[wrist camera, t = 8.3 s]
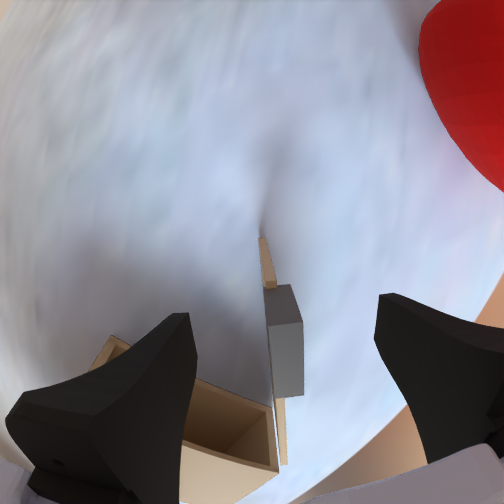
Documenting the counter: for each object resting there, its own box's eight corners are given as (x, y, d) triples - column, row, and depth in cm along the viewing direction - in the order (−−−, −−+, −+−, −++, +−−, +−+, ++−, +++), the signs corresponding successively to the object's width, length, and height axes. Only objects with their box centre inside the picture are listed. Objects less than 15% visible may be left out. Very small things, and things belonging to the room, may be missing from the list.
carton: (222, 456, 23) (220, 511, 17) (88, 399, 20) (62, 450, 15) (272, 408, 21) (279, 473, 15) (111, 335, 18) (74, 393, 13)
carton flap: (272, 401, 20) (282, 499, 12) (256, 238, 16) (267, 316, 8) (286, 399, 20) (301, 496, 12) (275, 236, 16) (302, 313, 8)
